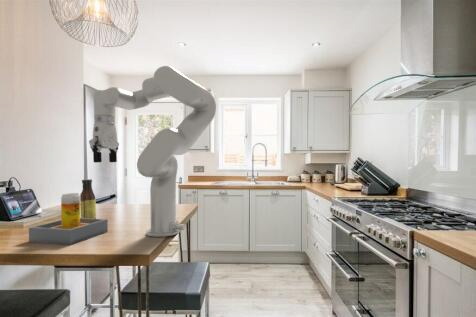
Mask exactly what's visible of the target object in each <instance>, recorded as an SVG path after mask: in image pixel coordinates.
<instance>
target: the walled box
mask: <svg viewBox="0 0 476 317" xmlns="http://www.w3.org/2000/svg"><path fill="white" fill-rule="evenodd" d="M108 222H109V221H108V219H107V218H96V219H91V218H81V217H80V226H79V227H76V228H72V229H64V228H61V219H58V220H54V221H50V222H46V223H43V224H37V225H34V226H29V227H28V242H29V243H38V244H39V243H41V244H42V243H43V244H54V245H66V246H67V245H68V246H72V245H74V244H78V243H80V242H83V241H87V240H89V239H91V238H92V239H93V238H95V237H97V236H100V235H103V234H105V233H108V232H109V231H108V230H109V228H108V226H109V225H108V224H109V223H108Z"/></svg>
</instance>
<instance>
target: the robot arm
mask: <svg viewBox="0 0 476 317" xmlns="http://www.w3.org/2000/svg"><path fill="white" fill-rule="evenodd" d="M141 86H142V89H140V90H136V91H132V92H131V91H128V90H124V89H123V88H119V87H116V86H114V87H113V86H112V87H108V88H105V89H100V90H99V89H98V90H95V91H94V92H93V119H94V120H93V122H94V123H93V128H92V129H93V130H92V138H91V139H90V140H89V141H88V143H89V146H90V148H91V149H90V150H91V152H92V153H93V154H92V155H93V163H95V164H96V163H102V161H103V160H102V152H101V151H102V149H108V151H109V152H108V159H109V161H108V162H109V163H117V162H118V160H117V158H118V157H117V153H118V151H119V146H120V143H119V142H118V135H117V134H118V133H117V128H116V125H115V109H114V108H115V107H116V108H120V109H123V110H127V111H131V110H137V109H141V108H145V107H147V106H149V105H150V104H151V103H153V101H156V100H160V99H161V100H162V99H164V98H169V97H172V98H173V99H175V100H177V101H178V102H180V103H181V104H183V105H185V106H187V107H189V108H191V109H192V108H193V110H192V111H191V112H190V113H189V114H188V115H186V116H185V117H184V118H183V120H182V121H181V122H180V123H179V125H178V126H177V127H176V128H171V127H167V128H163V129H161V130H160V131H158V132H157V133H156V134H155V135H154V137H152V139H151V140H150V141H149V143H148V144H147V145H146V146H145V148H144V149H143V150H142V152H141V153H140V155H139V156H138V158H137V161H136V169H137V171H138V173H139V174H140V175H141V176H143V177H145V178H151V182H150V188H149V189H150V191H149V192H150V195H149V196H150V197H149V198H150V228H149V229H147V230H146V235H147V236H148V237H153V238H154V237H155V238H162V237H163V238H166V237H171V236H176V235H178V234H180V233H181V231H185V229H186V227H185V226H186V225H185V224H184V223H179V220H177V218H176V217H177V214H176V213H177V210H176V209H177V203H176V202H177V200H176V199H177V198H176V197H177V193H176V192H177V191H176V190H177V189H176V186H177V174H178V166H179V165H178V160H177V158H176V156H181V155H182V156H183V155H185V154H186V153H188V151H189V150H190V149H191V147H192V146H193V145H194V144H195V143H196V142H197V140H198V139H199V138H200V136H201V135H202V134H203V133H204V132H205V130H206V129H207V128H208V126H210V124H211V123H212V121H213V120H214V118H215V115H216V112H217V104H216V100H215V97H214V95H213V94H212V93H211V92H210V91H209V90H208V89H207V88H205V87H204V86H201V84H198V83H196V82H195V81H194V80H192V79H190V78H188V77H187V76H186V75H184V74H183V73H181V72H180V71H178V70H177V69H175V68H174V67H172V66H170V65H164V66H160V67H158V68H157V69H156V70H155V72H154V73H153V76H152V77H149V78H145V79H144V80H143V81H142V85H141Z"/></svg>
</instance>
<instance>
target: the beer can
mask: <svg viewBox="0 0 476 317" xmlns="http://www.w3.org/2000/svg"><path fill="white" fill-rule="evenodd" d="M60 201H61V202H60V203H61V207H60V208H61V211H60V212H61V214H60V215H61V218H60V220H61V228H64V229H72V228H76V227H79V226H80V218H81V206H80V193H78V192H76V193H75V192H74V193H73V192H69V193H63V194H62V196H61V198H60Z"/></svg>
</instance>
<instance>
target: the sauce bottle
mask: <svg viewBox="0 0 476 317" xmlns="http://www.w3.org/2000/svg"><path fill="white" fill-rule="evenodd" d="M92 183H93V179H91V178H89V179H86V178H85V179H81V184H82V191H81V193H79V196H80V218H91V219H97V205H96V203H97V202H96V195H95V192H94V190H93V185H92Z"/></svg>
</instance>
